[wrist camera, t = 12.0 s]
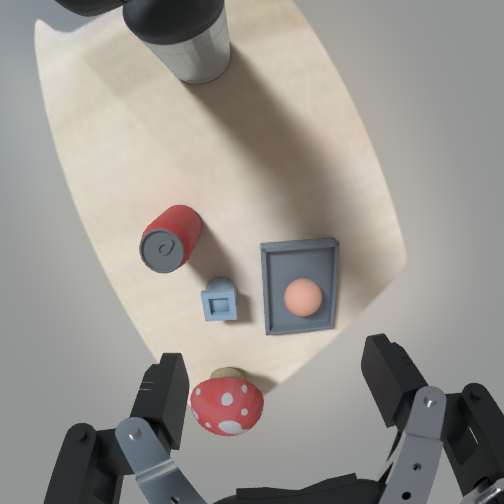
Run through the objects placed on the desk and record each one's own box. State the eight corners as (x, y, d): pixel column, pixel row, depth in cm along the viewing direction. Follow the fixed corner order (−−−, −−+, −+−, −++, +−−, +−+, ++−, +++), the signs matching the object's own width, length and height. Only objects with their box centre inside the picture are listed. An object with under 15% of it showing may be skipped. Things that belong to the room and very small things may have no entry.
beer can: (210, 226, 43) (200, 255, 32) (180, 252, 44) (162, 287, 33) (182, 195, 41) (160, 212, 30) (153, 222, 43) (124, 248, 31)
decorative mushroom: (274, 372, 54) (282, 430, 40) (227, 399, 57) (226, 454, 43) (229, 336, 51) (226, 397, 36) (182, 368, 53) (170, 425, 39)
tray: (260, 243, 44) (261, 248, 42) (334, 237, 44) (338, 242, 42) (265, 327, 50) (266, 335, 48) (329, 320, 50) (333, 327, 48)
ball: (281, 273, 45) (286, 291, 40) (317, 270, 45) (327, 287, 40) (282, 305, 47) (286, 325, 42) (316, 301, 47) (324, 321, 42)
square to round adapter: (204, 278, 46) (200, 293, 42) (235, 276, 46) (234, 290, 42) (208, 305, 48) (205, 321, 43) (238, 303, 48) (237, 319, 43)
